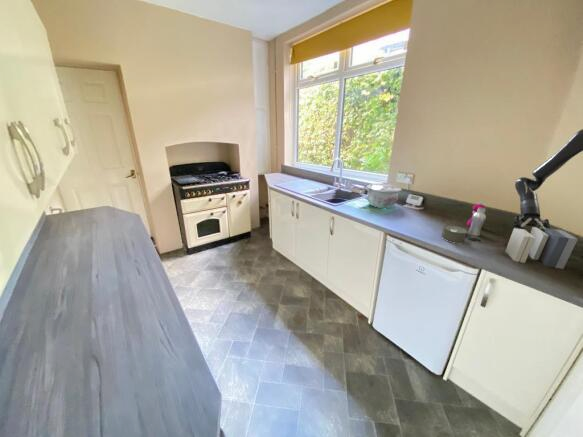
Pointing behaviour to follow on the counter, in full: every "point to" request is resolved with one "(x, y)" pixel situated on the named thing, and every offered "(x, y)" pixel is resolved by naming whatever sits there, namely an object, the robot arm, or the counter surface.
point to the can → (454, 233)
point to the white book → (537, 243)
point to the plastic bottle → (477, 223)
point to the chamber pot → (381, 195)
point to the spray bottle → (475, 211)
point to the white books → (519, 245)
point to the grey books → (557, 248)
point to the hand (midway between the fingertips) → (532, 235)
